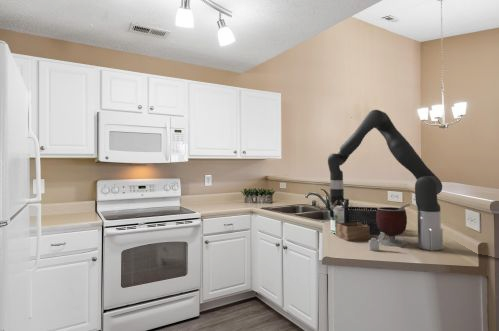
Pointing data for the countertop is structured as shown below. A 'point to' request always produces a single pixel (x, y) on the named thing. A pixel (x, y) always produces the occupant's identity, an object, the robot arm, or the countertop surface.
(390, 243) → the mate gourd
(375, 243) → the lighter
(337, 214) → the syrup box
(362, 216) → the storage bin
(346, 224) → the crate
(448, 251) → the countertop surface
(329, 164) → the robot arm
